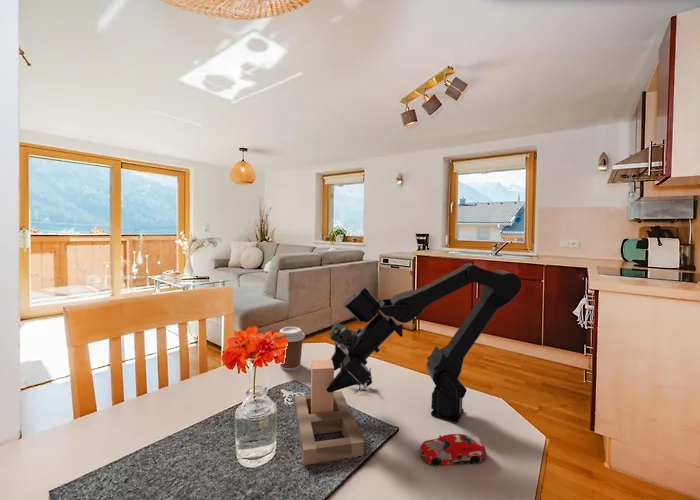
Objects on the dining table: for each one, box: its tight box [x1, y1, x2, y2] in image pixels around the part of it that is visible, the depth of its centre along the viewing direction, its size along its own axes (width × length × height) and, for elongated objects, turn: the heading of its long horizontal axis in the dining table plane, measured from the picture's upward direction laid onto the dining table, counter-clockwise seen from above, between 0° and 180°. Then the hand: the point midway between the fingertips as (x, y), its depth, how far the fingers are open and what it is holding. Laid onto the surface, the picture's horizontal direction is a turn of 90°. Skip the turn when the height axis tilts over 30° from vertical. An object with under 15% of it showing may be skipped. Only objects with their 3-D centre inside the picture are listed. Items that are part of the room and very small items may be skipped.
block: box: [310, 359, 335, 414], centre depth 80 cm, size 5×5×13 cm
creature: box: [353, 367, 373, 394], centre depth 96 cm, size 8×5×8 cm
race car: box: [419, 433, 487, 467], centre depth 67 cm, size 13×5×4 cm, turn 94°
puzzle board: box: [294, 391, 365, 466], centre depth 76 cm, size 21×12×3 cm, turn 14°
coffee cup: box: [278, 326, 306, 371], centre depth 109 cm, size 9×9×12 cm
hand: (326, 381), depth 80 cm, fingers open, 9 cm apart
